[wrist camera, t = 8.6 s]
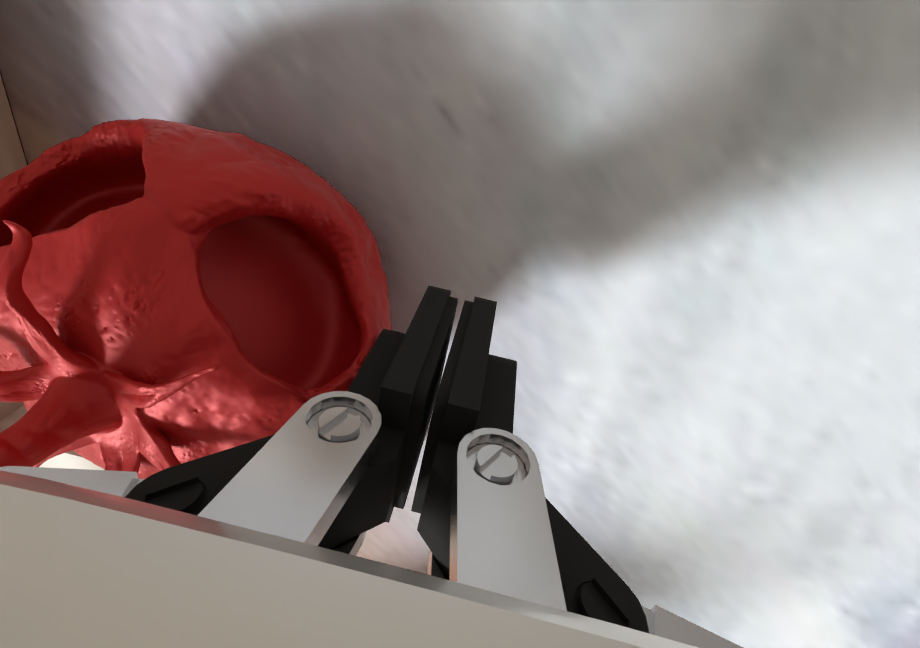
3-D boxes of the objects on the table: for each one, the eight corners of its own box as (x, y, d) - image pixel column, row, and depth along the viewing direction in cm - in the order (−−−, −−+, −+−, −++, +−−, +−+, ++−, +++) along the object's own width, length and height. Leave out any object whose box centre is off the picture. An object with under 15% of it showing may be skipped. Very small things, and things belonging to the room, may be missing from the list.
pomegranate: (354, 424, 18) (219, 710, 10) (110, 306, 17) (-259, 534, 9) (475, 218, 13) (387, 475, 5) (139, 23, 12) (-654, -17, 4)
